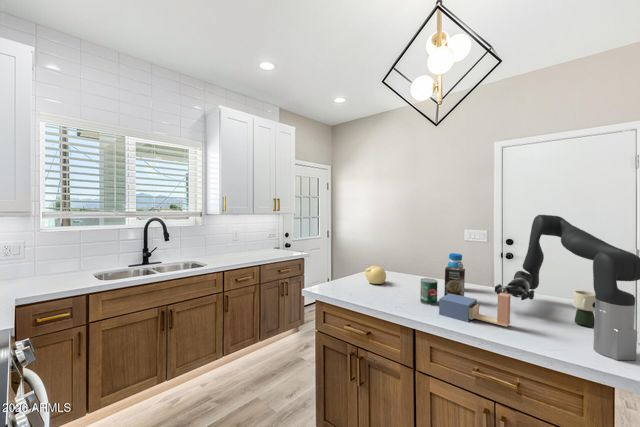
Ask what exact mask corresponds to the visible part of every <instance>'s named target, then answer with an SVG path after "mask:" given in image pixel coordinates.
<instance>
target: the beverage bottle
mask: <svg viewBox="0 0 640 427" xmlns="http://www.w3.org/2000/svg"><path fill="white" fill-rule="evenodd" d="M448 260H449V261H448V263H447V266H446V267H454V268H463V269H464V265H463V263H462V261H463V255H462V254H461V253H453V252H452V253H451V252H450V253H449V255H448Z"/></svg>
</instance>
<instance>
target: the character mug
mask: <svg viewBox="0 0 640 427" xmlns="http://www.w3.org/2000/svg"><path fill="white" fill-rule="evenodd" d="M573 307H574V308H576V310H575V311H576V312H575V317H574V322H575V323H576V324H580V325H582V326H584V327H585V326H586V327H589V328H590V327H591V328H594V318H595V292H591V291H586V290H574V291H573Z"/></svg>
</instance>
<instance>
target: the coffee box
mask: <svg viewBox="0 0 640 427" xmlns="http://www.w3.org/2000/svg"><path fill="white" fill-rule="evenodd" d="M465 276H466V268H464V267H463V268H454V267H448V266H445V268H444V290H443V291H444V293H443V294H444V296H445V295H447V294H449V293H450V294H455V295H460V296H464V297H465V284H466V283H465V280H466V279H465Z"/></svg>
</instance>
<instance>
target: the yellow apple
mask: <svg viewBox="0 0 640 427" xmlns="http://www.w3.org/2000/svg"><path fill="white" fill-rule="evenodd" d="M364 275H365V277H366V279H367V282H368V283H370V284H375V285H382V284H385V281H386V279H387V273H386V271H385V269H384V268H382V267H381V266H380V265H373V264H372V265H371V266H370V267H368V268H366V269H364Z"/></svg>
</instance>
